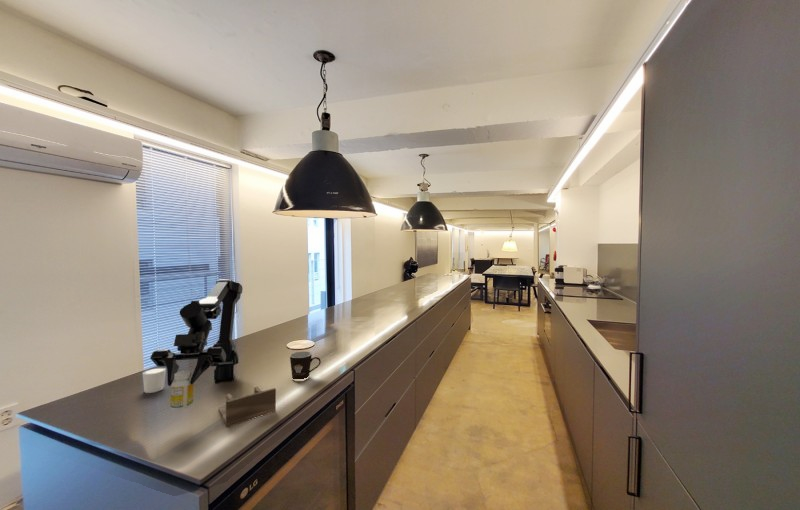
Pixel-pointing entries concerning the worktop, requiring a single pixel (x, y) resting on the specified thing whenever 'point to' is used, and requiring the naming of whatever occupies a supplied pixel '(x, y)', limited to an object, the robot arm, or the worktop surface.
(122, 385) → the worktop surface
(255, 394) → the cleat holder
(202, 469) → the worktop surface
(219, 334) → the robot arm
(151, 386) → the white cup
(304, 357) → the coffee mug
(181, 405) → the supplement bottle
